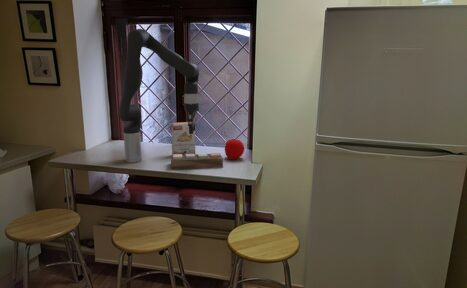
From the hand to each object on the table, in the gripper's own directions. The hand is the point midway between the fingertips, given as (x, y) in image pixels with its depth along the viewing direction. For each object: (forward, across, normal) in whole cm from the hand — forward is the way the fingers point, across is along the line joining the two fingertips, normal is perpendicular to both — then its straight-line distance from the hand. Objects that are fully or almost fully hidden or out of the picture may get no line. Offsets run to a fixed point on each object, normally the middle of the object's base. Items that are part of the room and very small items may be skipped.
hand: (192, 132), depth 179 cm
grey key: (+17, -5, -2) cm, 18 cm away
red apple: (+21, -21, +23) cm, 37 cm away
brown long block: (+20, -6, +1) cm, 21 cm away
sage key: (+17, -7, +5) cm, 19 cm away
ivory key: (+17, -4, -9) cm, 20 cm away
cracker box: (+20, -27, -9) cm, 35 cm away
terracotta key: (+17, -8, +12) cm, 22 cm away
